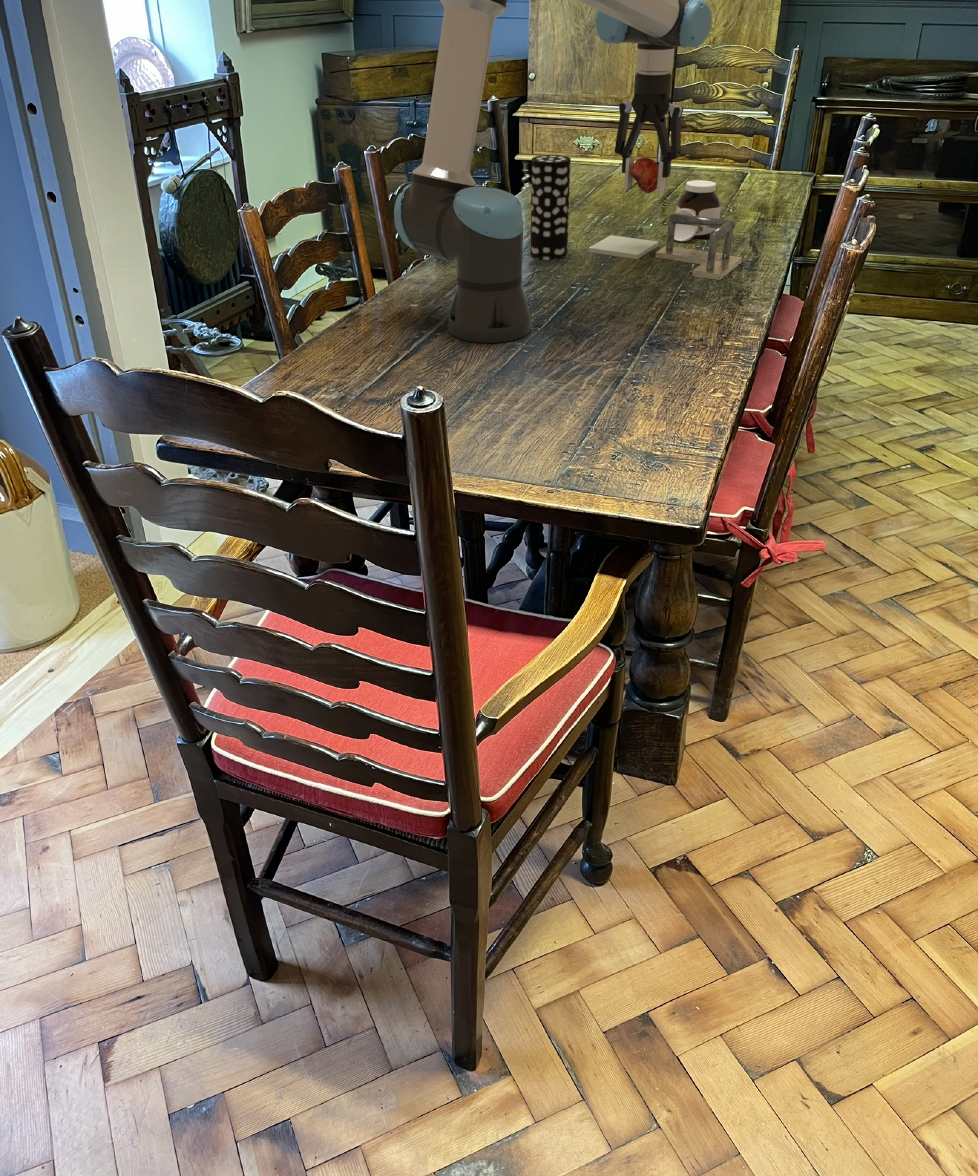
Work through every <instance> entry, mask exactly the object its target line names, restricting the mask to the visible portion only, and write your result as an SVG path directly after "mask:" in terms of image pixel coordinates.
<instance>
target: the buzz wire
mask: <svg viewBox="0 0 978 1176" xmlns="http://www.w3.org/2000/svg"><path fill="white" fill-rule="evenodd" d="M675 213H676V212H673V213H671V214H669V215H668V221H667V222H668V224H667V232H666V233H667V235H666V243H665V244H666V245H665V246H663V247H662V248H660V249H659V250H657V251H655V259H662V260H668V261H675V262H682V263H687V264H697V265H698V266H697V267H696V268H694V269H692V275H691V276H692V277H696V278H703V279H707V280H714V279H715V280H716V281H721V280H722V279H724V278H725V277H726V276H727V275H728V274H729V272H730V273H731V272H732V271H733V270H735V269H736V268H737V267H738V266H740V265H741V264H742V261H743V260H742V259H743V257H741V256H734V255H731V250H732V243H733V241H732V240H733V234H734V229H735V228H736V222H735V220H733V219H723V218H719V219H716V218H708V217H700V216H691V215H683V214H675ZM676 224H683V225H691V226H699V227H707V228H715V230H714V231H712V232H711V233H710V235H709V237H708V238H709V240H708V241H709V242H708V250H701V249H693V248H686V247H679V246H678V247H677V246H674V243H675V239H674V235H675V225H676ZM722 237H724V240H723V248H722V253H721V252H717V247H718V240H720V239H721V238H722ZM739 264H740V265H739ZM734 268H735V269H734ZM724 276H725V277H724Z"/></svg>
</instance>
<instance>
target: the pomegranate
mask: <svg viewBox="0 0 978 1176" xmlns="http://www.w3.org/2000/svg"><path fill="white" fill-rule="evenodd" d="M662 160H663V159H662ZM662 160H659V161H655V160H654V159H652V158H649V157H641V158H638V159H637V160H636V161H634V165H633V166H632V167H631V171H630V172H631V175H632V176H633V180H635V181H636V182H635V183H634V184H633V185H632V187H631V188H630V189H628V190H627V191H624V192H625V194H627V193H628V192H629V191H630V190H633V188H634V187H636V185H637V187H638V188H639V190H641V191H642V192H644V193H645V194H651V193H653V192H655V191H657V181H658V170H659V162H660V161H662Z"/></svg>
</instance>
